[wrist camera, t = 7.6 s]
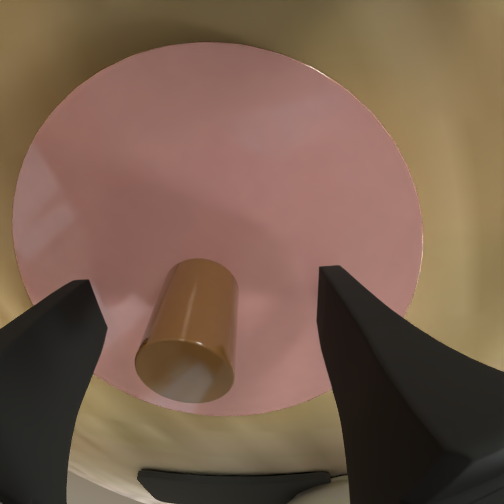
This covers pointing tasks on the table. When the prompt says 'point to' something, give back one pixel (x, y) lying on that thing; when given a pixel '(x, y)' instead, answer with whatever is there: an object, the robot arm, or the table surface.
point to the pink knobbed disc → (214, 220)
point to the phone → (228, 487)
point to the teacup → (325, 493)
